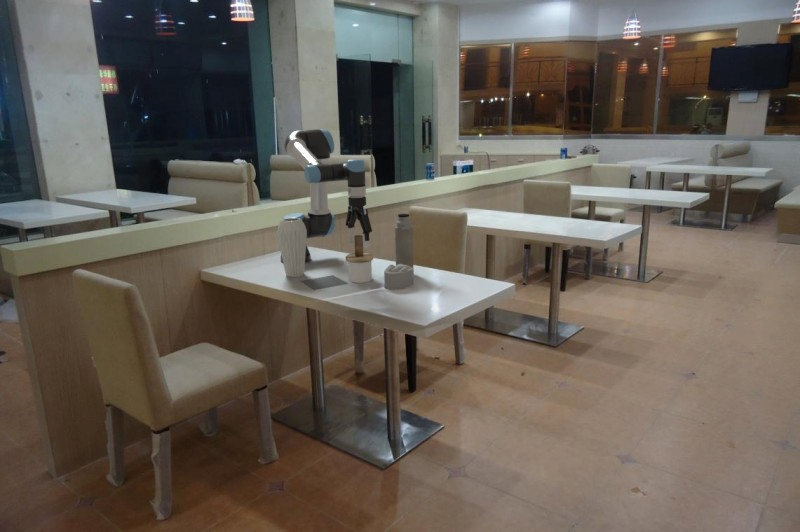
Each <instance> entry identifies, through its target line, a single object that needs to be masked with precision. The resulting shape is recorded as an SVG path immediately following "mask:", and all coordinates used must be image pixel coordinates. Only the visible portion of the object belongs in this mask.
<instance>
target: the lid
mask: <svg viewBox="0 0 800 532" xmlns="http://www.w3.org/2000/svg"><path fill="white" fill-rule="evenodd" d="M354 240H355V242H354V252H353V253H349V254H346V255H345V261H346V262H347V263H348V262H352V263H363V262H369V261H371V262H372V261H373V260H374V255H373V254H372V253H370V252H364V248H363V234H355V236H354Z"/></svg>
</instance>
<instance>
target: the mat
mask: <svg viewBox="0 0 800 532" xmlns="http://www.w3.org/2000/svg"><path fill="white" fill-rule="evenodd" d="M299 282H300V283H302V284H304V286H307V287H308V288H310V289H311V290H313V291H315V290H316V291H317V290H322V289H326V288H333V287H337V286H344V285H348V284H349V283H348V282H347V281H345V280H342V279H341V278H338V277H337V276H336V275H334V274H333V275H331V274H330V275H325V276H322V277H321V276H320V277H315V278H310V279H304V280H299Z"/></svg>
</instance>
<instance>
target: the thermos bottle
mask: <svg viewBox="0 0 800 532" xmlns="http://www.w3.org/2000/svg"><path fill="white" fill-rule="evenodd" d="M397 219H398V220H397V221H396V223H395V227H394V237H395V238H394V240H395V241H394V243H395V245H394V247H395V249H394V250H395V266H397V265H398V264H403V265H408V266H410V267H412V268H413V276H414V273H415V272H414V271H415V270H414V268H415V267H414V226H413V225H412V221H411V220H410V214H409V213H398V215H397Z"/></svg>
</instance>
